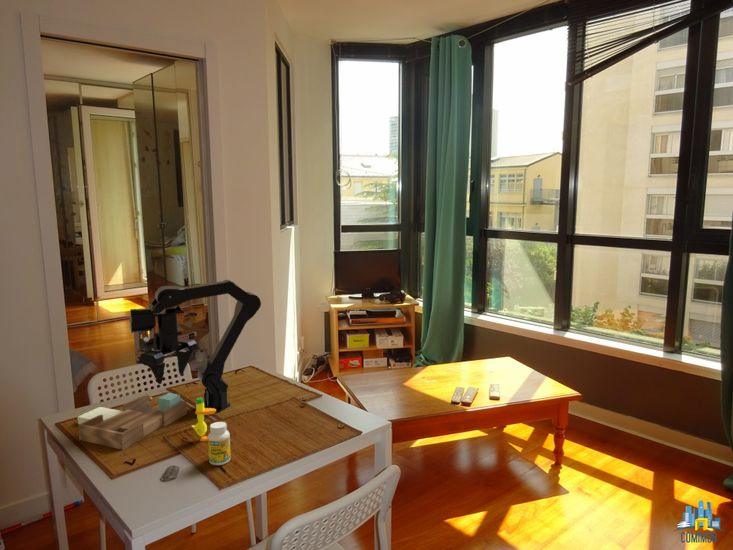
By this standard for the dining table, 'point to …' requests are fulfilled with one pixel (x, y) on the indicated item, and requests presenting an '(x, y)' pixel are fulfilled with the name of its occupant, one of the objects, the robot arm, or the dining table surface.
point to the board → (96, 412)
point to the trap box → (129, 423)
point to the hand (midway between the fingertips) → (170, 378)
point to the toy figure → (202, 418)
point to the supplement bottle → (219, 444)
